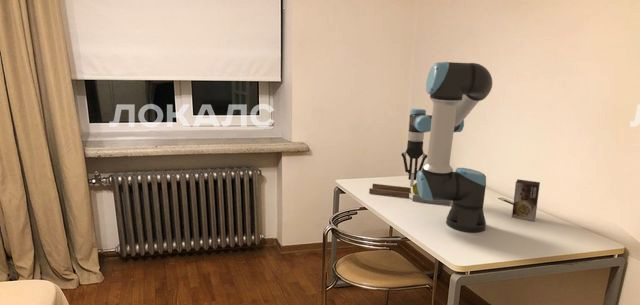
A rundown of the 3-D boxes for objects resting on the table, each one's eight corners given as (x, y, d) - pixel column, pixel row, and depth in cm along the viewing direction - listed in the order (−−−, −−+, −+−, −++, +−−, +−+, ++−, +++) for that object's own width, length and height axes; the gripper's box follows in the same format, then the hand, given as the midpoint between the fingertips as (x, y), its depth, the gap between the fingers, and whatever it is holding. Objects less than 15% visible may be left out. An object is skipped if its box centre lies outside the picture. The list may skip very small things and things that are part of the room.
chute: (408, 198, 193) (409, 193, 192) (369, 193, 198) (369, 188, 198) (410, 192, 203) (411, 187, 202) (372, 188, 209) (372, 183, 208)
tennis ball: (428, 196, 197) (429, 182, 196) (421, 198, 192) (423, 185, 191) (416, 192, 202) (417, 179, 201) (409, 195, 197) (410, 182, 196)
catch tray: (449, 205, 183) (449, 199, 183) (412, 201, 188) (412, 195, 188) (448, 194, 201) (449, 188, 201) (415, 190, 206) (415, 185, 206)
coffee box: (535, 217, 171) (540, 182, 167) (534, 221, 165) (539, 185, 162) (512, 213, 175) (517, 178, 172) (511, 217, 170) (515, 181, 167)
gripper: (429, 140, 194) (425, 185, 198) (402, 138, 197) (399, 182, 202) (428, 142, 187) (424, 189, 191) (401, 140, 190) (398, 186, 195)
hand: (411, 186), depth 197 cm, fingers closed
